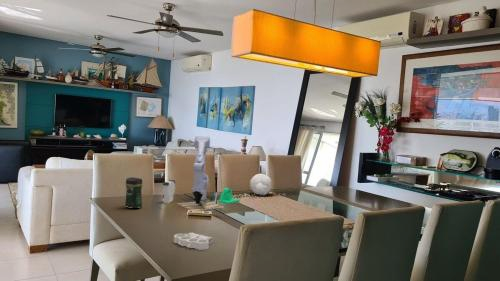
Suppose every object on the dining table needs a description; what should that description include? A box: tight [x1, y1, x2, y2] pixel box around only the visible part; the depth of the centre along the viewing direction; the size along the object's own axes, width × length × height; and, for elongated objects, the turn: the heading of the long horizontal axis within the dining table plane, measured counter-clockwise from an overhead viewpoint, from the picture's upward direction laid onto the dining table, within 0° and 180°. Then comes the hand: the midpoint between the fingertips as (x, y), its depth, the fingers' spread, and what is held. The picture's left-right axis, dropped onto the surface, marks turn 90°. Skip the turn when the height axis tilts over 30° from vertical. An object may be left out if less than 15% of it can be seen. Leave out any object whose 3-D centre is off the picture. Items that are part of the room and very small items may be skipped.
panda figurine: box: [162, 179, 176, 204], centre depth 248 cm, size 12×11×15 cm
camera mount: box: [218, 187, 240, 204], centre depth 257 cm, size 12×8×10 cm, turn 140°
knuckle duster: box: [173, 232, 214, 251], centre depth 173 cm, size 3×18×15 cm
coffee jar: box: [124, 177, 143, 208], centre depth 234 cm, size 10×8×19 cm
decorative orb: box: [249, 173, 272, 196], centre depth 292 cm, size 20×18×16 cm
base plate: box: [176, 197, 223, 212], centre depth 242 cm, size 21×22×4 cm
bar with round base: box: [198, 200, 206, 208], centre depth 239 cm, size 5×12×2 cm, turn 16°
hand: (197, 203), depth 239 cm, fingers closed
